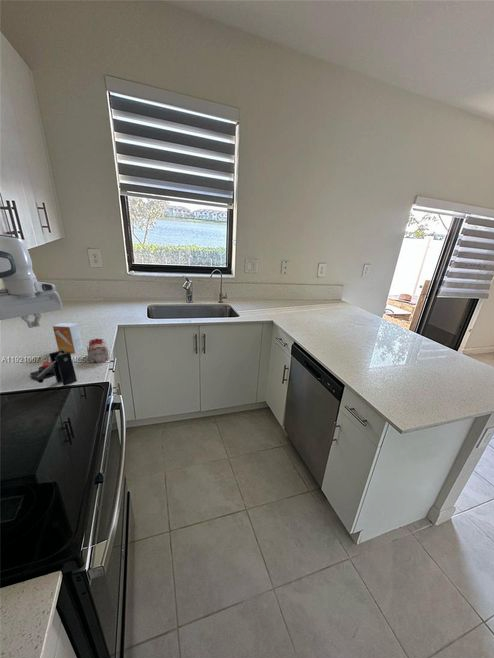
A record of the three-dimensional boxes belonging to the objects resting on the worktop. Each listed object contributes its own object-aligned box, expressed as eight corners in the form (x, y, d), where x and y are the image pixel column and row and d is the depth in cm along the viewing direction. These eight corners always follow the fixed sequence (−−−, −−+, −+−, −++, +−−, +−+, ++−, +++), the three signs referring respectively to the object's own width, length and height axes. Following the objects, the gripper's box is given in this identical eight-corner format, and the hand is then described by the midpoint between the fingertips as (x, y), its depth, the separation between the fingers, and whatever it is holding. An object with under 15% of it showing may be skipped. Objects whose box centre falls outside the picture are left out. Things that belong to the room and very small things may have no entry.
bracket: (57, 394, 101) (48, 361, 96) (43, 388, 105) (33, 355, 100) (90, 381, 111) (84, 350, 106) (77, 376, 115) (69, 346, 110)
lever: (42, 384, 98) (36, 380, 96) (34, 381, 100) (28, 376, 98) (70, 358, 104) (65, 354, 103) (62, 355, 107) (57, 351, 105)
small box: (58, 352, 137) (51, 325, 133) (67, 348, 143) (61, 322, 138) (75, 353, 137) (69, 326, 132) (83, 348, 143) (78, 323, 138)
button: (46, 370, 111) (45, 366, 110) (41, 368, 112) (40, 364, 112) (56, 367, 114) (55, 363, 113) (51, 365, 115) (50, 361, 115)
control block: (42, 383, 109) (40, 373, 107) (31, 378, 112) (28, 368, 111) (70, 373, 117) (68, 364, 115) (59, 369, 120) (57, 360, 119)
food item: (111, 363, 128) (107, 342, 124) (90, 367, 124) (85, 345, 120) (108, 353, 138) (104, 334, 134) (88, 356, 134) (84, 336, 130)
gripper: (-14, 292, 87) (2, 336, 93) (59, 284, 104) (68, 321, 109) (-23, 290, 90) (-7, 332, 95) (50, 282, 107) (59, 319, 112)
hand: (34, 326), depth 103 cm, fingers closed
